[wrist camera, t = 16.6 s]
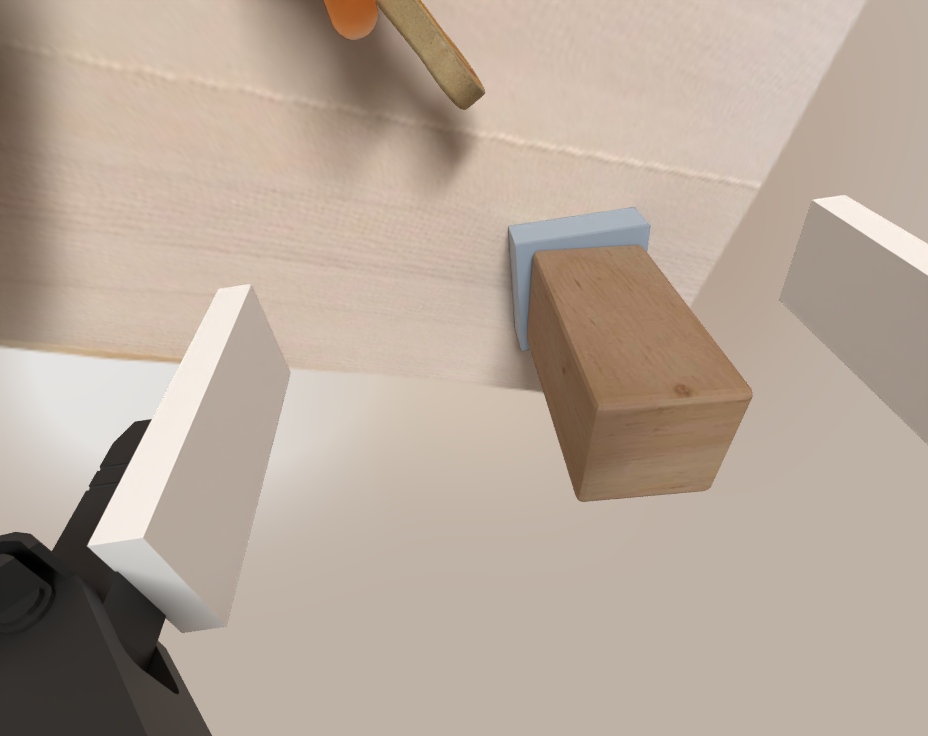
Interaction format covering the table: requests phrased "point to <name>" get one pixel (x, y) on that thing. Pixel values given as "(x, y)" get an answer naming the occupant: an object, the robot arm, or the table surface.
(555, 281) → the wooden block
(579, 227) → the base brick
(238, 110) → the table surface
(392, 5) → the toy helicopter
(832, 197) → the robot arm
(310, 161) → the table surface
